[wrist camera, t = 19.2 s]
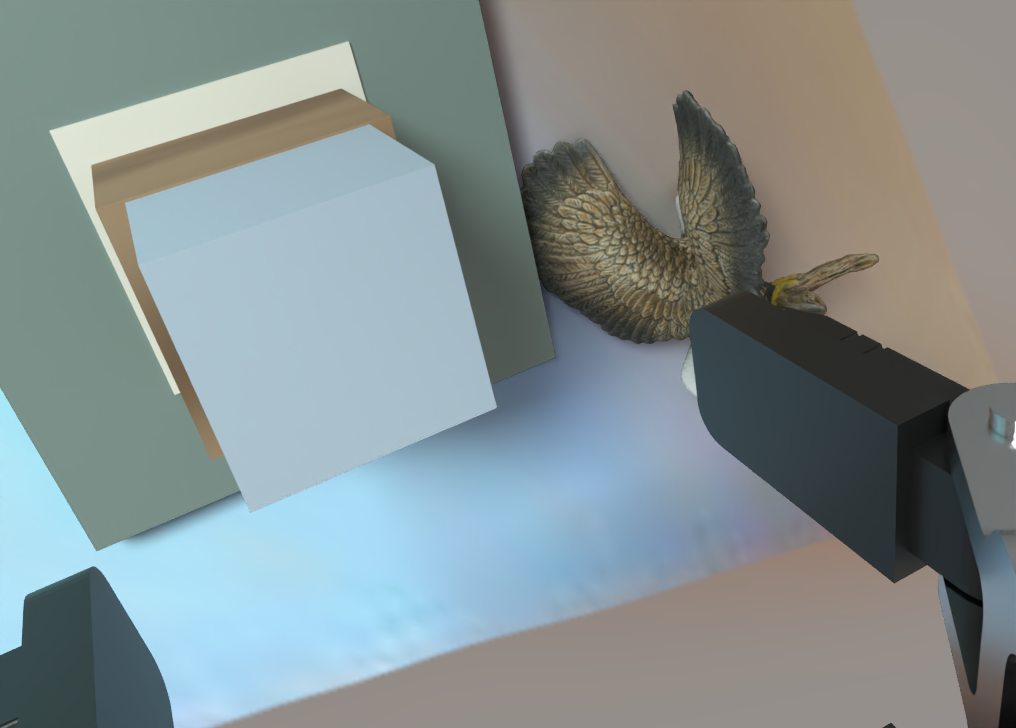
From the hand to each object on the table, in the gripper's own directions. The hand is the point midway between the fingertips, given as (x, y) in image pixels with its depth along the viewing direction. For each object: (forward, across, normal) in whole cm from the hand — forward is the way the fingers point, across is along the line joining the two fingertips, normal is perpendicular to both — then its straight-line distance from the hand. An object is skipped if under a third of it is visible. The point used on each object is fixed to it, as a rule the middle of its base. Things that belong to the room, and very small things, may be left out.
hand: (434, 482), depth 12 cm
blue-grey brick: (+9, 0, 0) cm, 9 cm away
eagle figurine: (+14, -11, +5) cm, 19 cm away
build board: (+14, 0, 0) cm, 14 cm away
